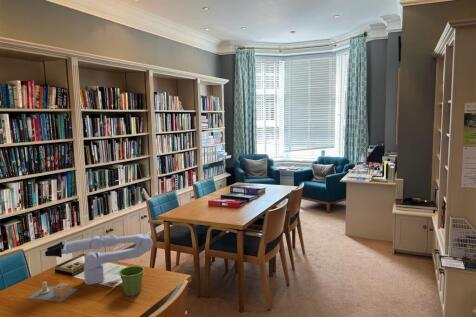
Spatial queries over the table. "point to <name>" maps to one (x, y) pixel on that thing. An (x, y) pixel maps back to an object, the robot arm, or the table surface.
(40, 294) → the board
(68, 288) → the collar
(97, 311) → the table surface
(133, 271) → the plant pot
